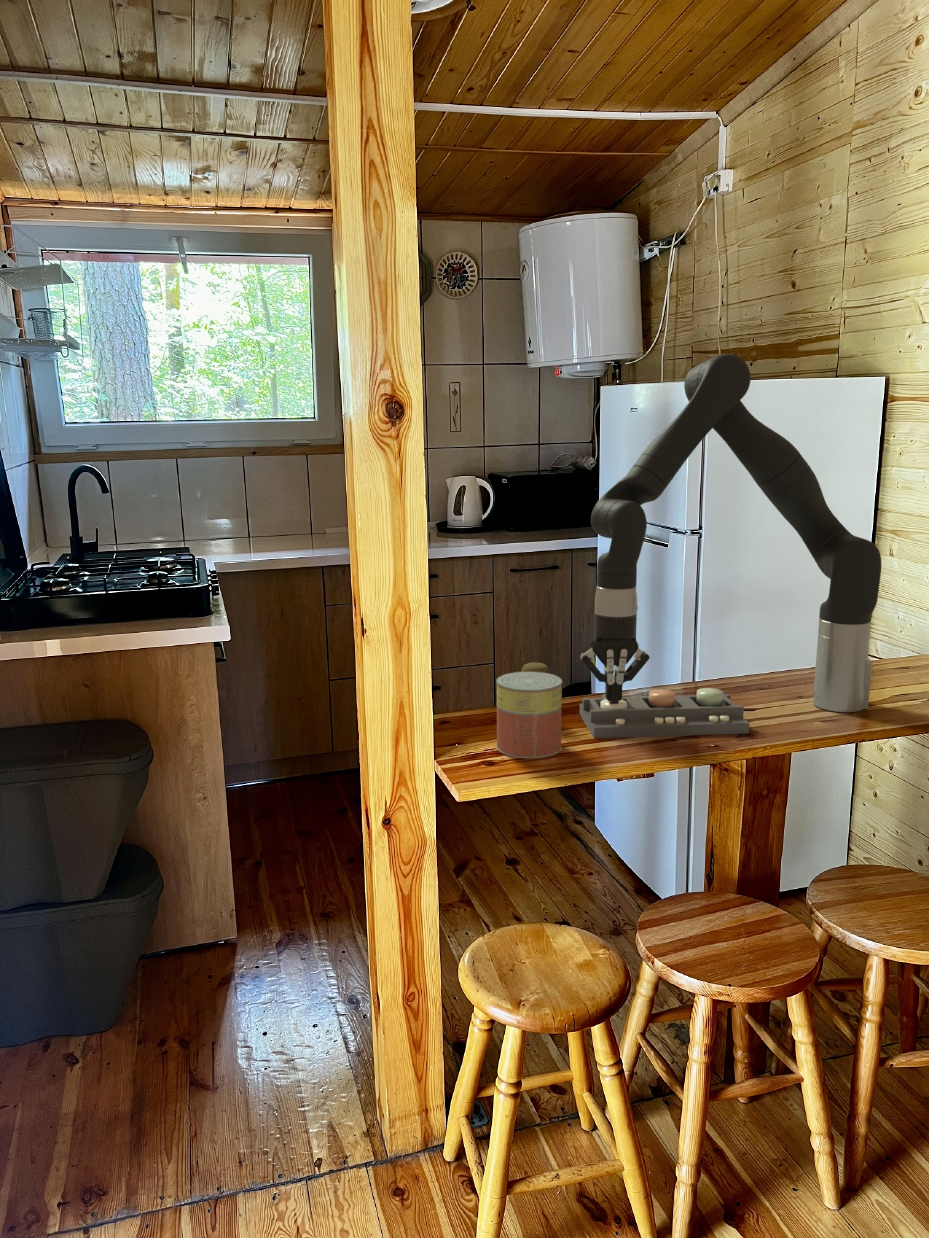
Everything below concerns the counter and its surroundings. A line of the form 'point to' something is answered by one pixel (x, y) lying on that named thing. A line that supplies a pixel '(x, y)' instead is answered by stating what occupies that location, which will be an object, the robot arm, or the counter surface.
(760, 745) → the counter surface
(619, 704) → the button one
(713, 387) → the robot arm
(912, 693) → the counter surface
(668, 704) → the button three
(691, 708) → the console
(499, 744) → the canned food
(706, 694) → the button two
